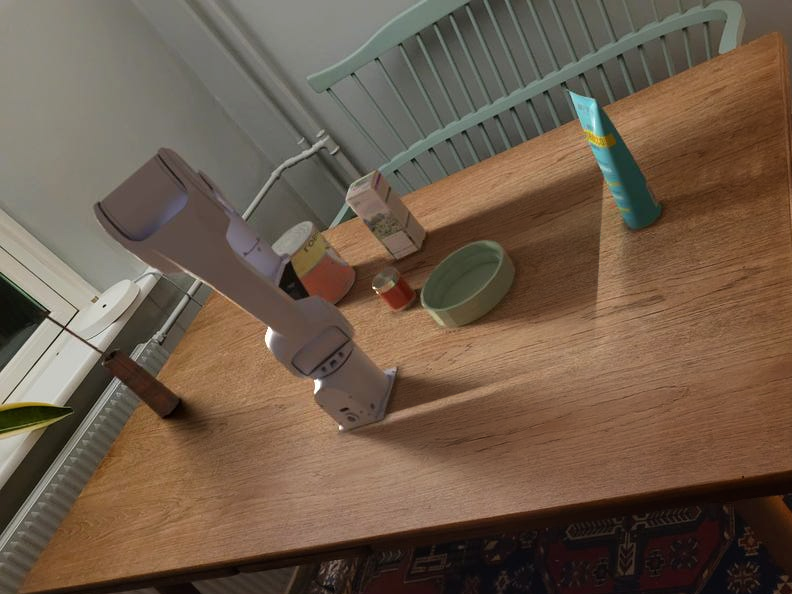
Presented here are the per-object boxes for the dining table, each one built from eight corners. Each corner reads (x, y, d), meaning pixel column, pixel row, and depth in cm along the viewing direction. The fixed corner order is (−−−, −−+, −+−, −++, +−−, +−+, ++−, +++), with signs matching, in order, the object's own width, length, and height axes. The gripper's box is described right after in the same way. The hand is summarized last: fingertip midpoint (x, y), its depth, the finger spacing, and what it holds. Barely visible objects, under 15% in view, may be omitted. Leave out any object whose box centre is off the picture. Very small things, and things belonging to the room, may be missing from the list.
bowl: (511, 312, 95) (496, 292, 93) (427, 341, 102) (412, 322, 100) (522, 247, 104) (508, 227, 102) (445, 277, 111) (430, 259, 109)
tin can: (414, 309, 110) (391, 282, 106) (391, 317, 112) (368, 292, 109) (420, 289, 113) (398, 262, 109) (398, 298, 115) (375, 272, 112)
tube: (615, 221, 96) (550, 102, 84) (642, 198, 96) (580, 75, 84) (647, 236, 90) (582, 110, 78) (676, 212, 90) (615, 82, 78)
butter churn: (200, 382, 137) (76, 282, 120) (174, 422, 132) (40, 323, 115) (174, 387, 142) (52, 292, 125) (148, 426, 137) (17, 332, 120)
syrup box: (427, 231, 125) (377, 166, 116) (422, 251, 121) (370, 186, 112) (401, 243, 127) (351, 181, 119) (396, 263, 123) (343, 200, 115)
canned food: (360, 283, 126) (316, 234, 119) (311, 322, 127) (265, 275, 120) (350, 260, 135) (308, 213, 128) (304, 296, 136) (261, 251, 129)
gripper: (269, 251, 93) (335, 319, 101) (263, 214, 104) (323, 277, 113) (228, 283, 94) (297, 348, 102) (227, 242, 105) (289, 304, 113)
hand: (308, 313), depth 107 cm, fingers open, 7 cm apart
